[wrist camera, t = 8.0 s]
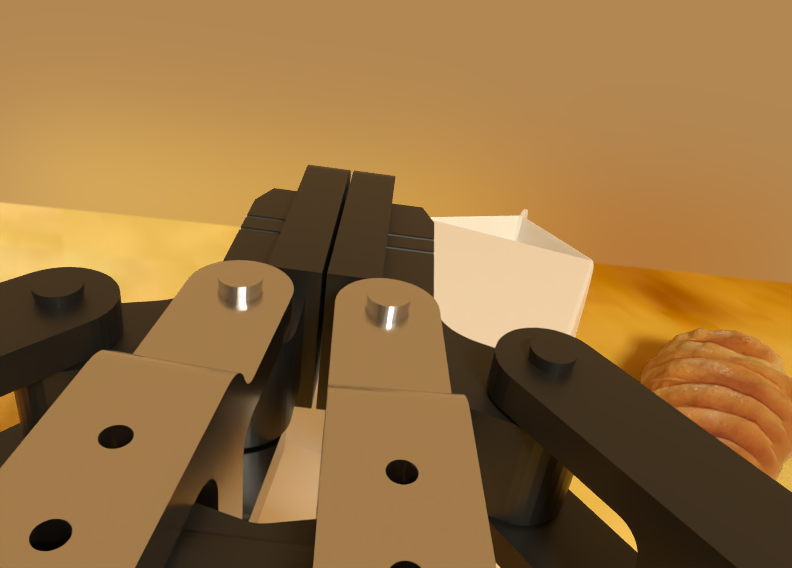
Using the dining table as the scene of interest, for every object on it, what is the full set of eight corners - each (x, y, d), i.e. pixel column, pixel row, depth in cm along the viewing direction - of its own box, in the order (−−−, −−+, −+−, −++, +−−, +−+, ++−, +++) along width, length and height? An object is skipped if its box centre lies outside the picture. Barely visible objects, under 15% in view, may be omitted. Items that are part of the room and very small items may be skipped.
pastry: (781, 554, 27) (824, 482, 25) (604, 481, 29) (630, 410, 27) (785, 413, 34) (817, 349, 32) (643, 363, 37) (666, 300, 35)
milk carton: (205, 415, 16) (449, 190, 33) (204, 624, 20) (427, 324, 36) (507, 526, 14) (607, 228, 31) (451, 738, 18) (568, 367, 34)
